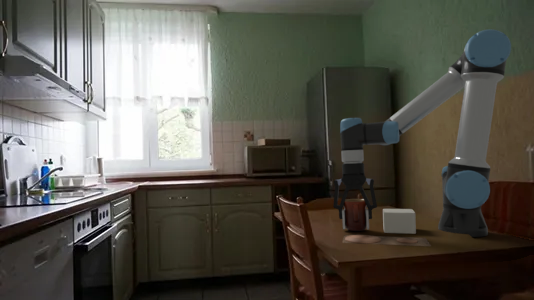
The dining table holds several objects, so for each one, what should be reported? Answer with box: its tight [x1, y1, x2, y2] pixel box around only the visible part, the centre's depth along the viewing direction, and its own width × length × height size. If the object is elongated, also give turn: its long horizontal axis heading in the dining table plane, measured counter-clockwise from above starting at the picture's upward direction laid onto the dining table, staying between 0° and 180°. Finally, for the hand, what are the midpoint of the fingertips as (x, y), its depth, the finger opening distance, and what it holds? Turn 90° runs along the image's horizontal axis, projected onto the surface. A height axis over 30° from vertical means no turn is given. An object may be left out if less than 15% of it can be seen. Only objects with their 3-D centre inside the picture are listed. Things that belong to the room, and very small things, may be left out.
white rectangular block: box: [382, 208, 417, 235], centre depth 129 cm, size 10×9×8 cm
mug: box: [343, 198, 367, 232], centre depth 129 cm, size 12×9×10 cm
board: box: [342, 234, 432, 247], centre depth 114 cm, size 25×11×2 cm, turn 75°
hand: (356, 228), depth 128 cm, fingers closed on mug, 7 cm apart
